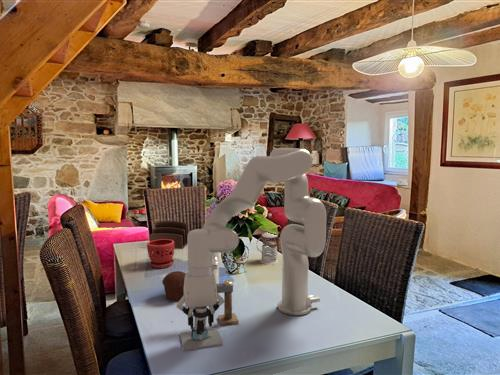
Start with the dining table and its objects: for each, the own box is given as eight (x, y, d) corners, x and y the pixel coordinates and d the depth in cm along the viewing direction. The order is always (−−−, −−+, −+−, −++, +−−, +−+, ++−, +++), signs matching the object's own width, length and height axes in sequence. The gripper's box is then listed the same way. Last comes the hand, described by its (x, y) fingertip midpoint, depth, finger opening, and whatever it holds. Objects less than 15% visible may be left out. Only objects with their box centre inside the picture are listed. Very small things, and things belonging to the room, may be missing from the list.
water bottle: (222, 285, 165) (222, 228, 162) (210, 290, 160) (209, 231, 157) (211, 281, 169) (211, 226, 166) (199, 285, 165) (199, 228, 161)
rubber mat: (216, 329, 127) (216, 327, 127) (223, 345, 118) (223, 343, 118) (180, 334, 124) (180, 332, 124) (183, 350, 114) (183, 348, 114)
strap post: (234, 315, 137) (234, 287, 136) (238, 323, 131) (238, 294, 130) (217, 317, 135) (217, 289, 134) (221, 325, 130) (221, 296, 128)
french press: (279, 264, 193) (280, 215, 190) (256, 264, 193) (256, 215, 190) (278, 258, 203) (279, 211, 199) (256, 258, 203) (256, 211, 200)
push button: (209, 332, 124) (210, 302, 123) (214, 340, 119) (215, 309, 118) (189, 335, 122) (190, 304, 121) (193, 343, 117) (194, 311, 116)
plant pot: (172, 260, 199) (172, 237, 198) (176, 268, 187) (175, 244, 185) (146, 262, 195) (146, 239, 194) (148, 270, 183) (147, 246, 181)
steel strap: (233, 292, 131) (233, 283, 130) (184, 296, 127) (183, 287, 127) (231, 288, 134) (231, 279, 133) (183, 292, 130) (183, 283, 130)
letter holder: (155, 243, 231) (155, 220, 230) (187, 244, 229) (187, 221, 227) (149, 247, 222) (148, 223, 220) (182, 249, 219) (182, 225, 217)
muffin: (156, 300, 150) (155, 275, 149) (172, 289, 160) (171, 266, 159) (183, 305, 146) (182, 279, 144) (197, 294, 156) (197, 270, 155)
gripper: (224, 263, 124) (225, 317, 126) (171, 268, 119) (172, 323, 121) (230, 271, 117) (230, 328, 119) (173, 276, 112) (174, 335, 114)
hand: (200, 325), depth 120 cm, fingers open, 5 cm apart
